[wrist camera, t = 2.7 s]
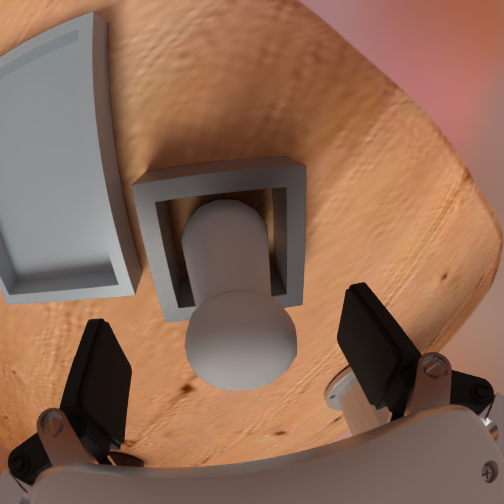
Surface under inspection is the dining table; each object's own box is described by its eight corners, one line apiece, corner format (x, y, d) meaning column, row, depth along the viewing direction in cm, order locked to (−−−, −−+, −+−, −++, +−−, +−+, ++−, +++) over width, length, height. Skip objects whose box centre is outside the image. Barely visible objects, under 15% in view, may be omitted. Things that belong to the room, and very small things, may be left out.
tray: (108, 23, 12) (93, 11, 9) (142, 273, 21) (134, 295, 19) (-23, 88, 10) (-43, 89, 8) (21, 286, 20) (7, 304, 17)
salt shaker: (266, 193, 20) (345, 303, 8) (257, 262, 22) (305, 401, 11) (184, 189, 19) (153, 306, 7) (184, 261, 21) (173, 409, 10)
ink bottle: (115, 464, 41) (113, 509, 31) (92, 449, 37) (87, 498, 26) (153, 466, 42) (153, 514, 31) (132, 452, 37) (129, 506, 27)
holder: (287, 156, 19) (306, 165, 15) (288, 276, 24) (302, 304, 20) (145, 171, 18) (131, 185, 14) (170, 291, 22) (165, 322, 19)
